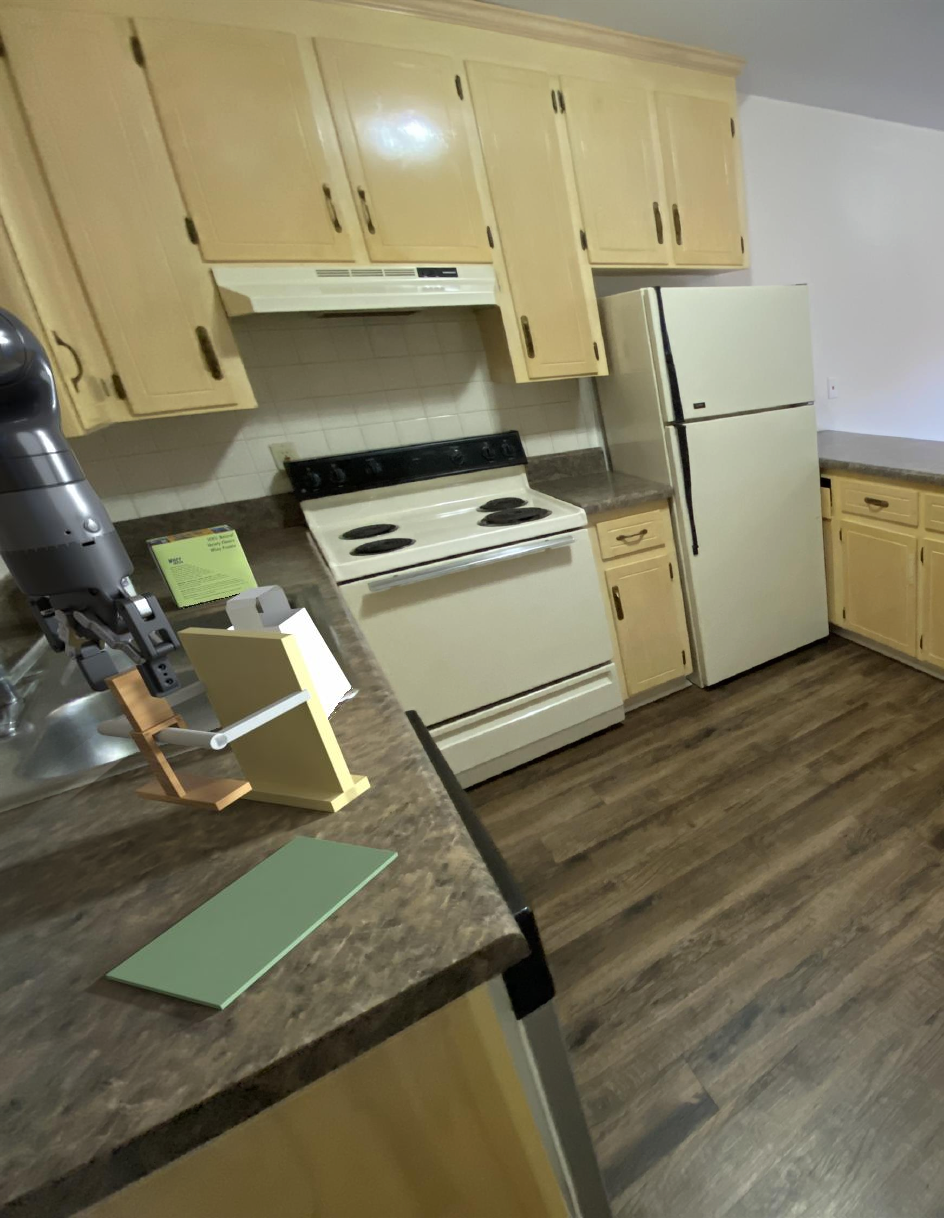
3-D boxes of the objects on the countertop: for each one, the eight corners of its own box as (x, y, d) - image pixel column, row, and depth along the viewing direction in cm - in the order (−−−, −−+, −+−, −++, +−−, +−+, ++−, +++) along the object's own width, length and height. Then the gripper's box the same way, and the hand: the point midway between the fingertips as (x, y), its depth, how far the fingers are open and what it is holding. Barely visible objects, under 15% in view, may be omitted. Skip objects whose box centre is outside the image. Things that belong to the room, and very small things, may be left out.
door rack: (268, 863, 71) (180, 683, 63) (159, 843, 76) (64, 673, 67) (372, 787, 83) (310, 627, 75) (273, 773, 87) (204, 621, 79)
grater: (245, 737, 97) (187, 611, 89) (282, 702, 106) (233, 585, 99) (324, 724, 99) (274, 600, 91) (354, 691, 108) (310, 576, 101)
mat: (107, 979, 59) (104, 975, 58) (299, 839, 75) (297, 835, 74) (222, 1010, 55) (219, 1006, 55) (398, 855, 71) (396, 852, 71)
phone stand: (219, 811, 69) (147, 685, 62) (138, 798, 72) (63, 677, 65) (252, 789, 72) (187, 667, 65) (174, 777, 75) (105, 660, 69)
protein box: (260, 589, 164) (235, 529, 158) (179, 610, 153) (149, 546, 148) (250, 582, 171) (226, 524, 165) (172, 601, 160) (143, 539, 154)
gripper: (-50, 547, 59) (43, 705, 65) (56, 548, 55) (144, 716, 61) (57, 524, 66) (133, 669, 72) (158, 524, 62) (228, 677, 68)
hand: (138, 690), depth 66 cm, fingers open, 8 cm apart
